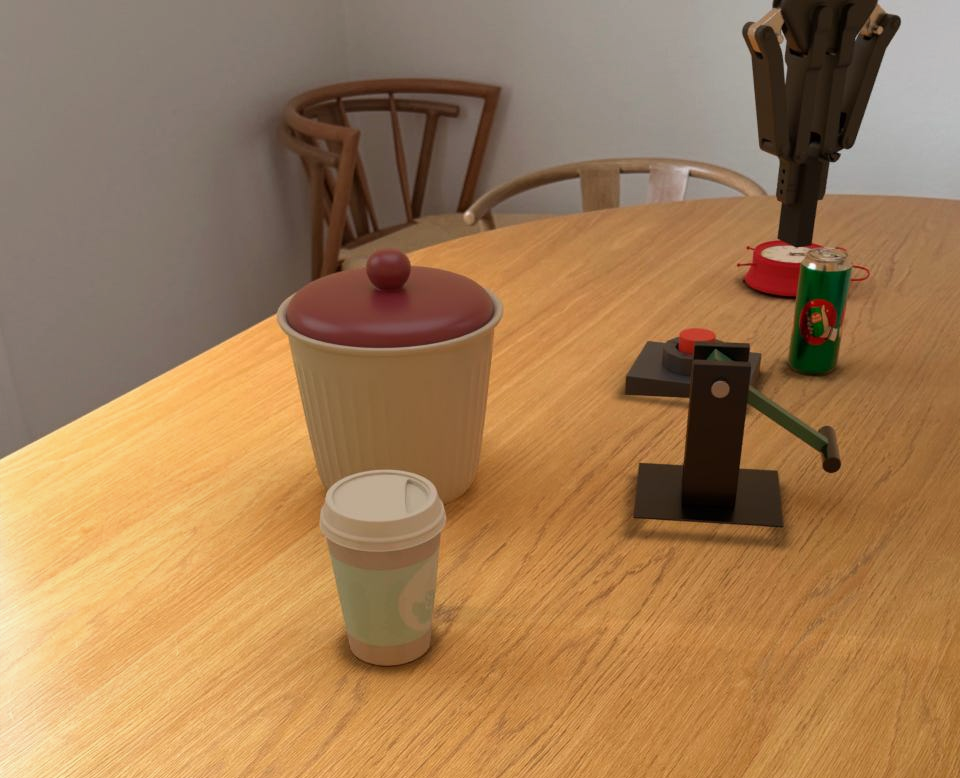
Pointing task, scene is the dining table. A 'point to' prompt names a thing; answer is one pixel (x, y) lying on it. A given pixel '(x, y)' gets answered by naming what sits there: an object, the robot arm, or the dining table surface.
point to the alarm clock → (779, 267)
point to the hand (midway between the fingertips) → (794, 241)
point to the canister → (394, 369)
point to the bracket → (712, 453)
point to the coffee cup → (385, 561)
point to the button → (694, 339)
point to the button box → (669, 371)
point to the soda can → (819, 311)
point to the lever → (794, 424)
